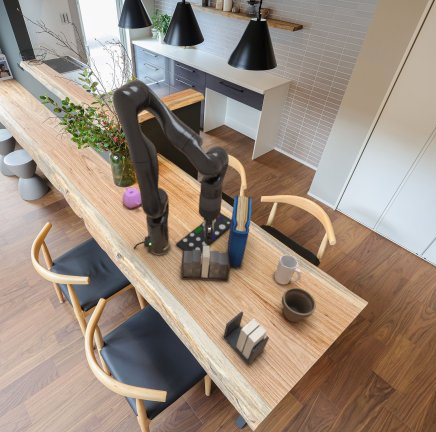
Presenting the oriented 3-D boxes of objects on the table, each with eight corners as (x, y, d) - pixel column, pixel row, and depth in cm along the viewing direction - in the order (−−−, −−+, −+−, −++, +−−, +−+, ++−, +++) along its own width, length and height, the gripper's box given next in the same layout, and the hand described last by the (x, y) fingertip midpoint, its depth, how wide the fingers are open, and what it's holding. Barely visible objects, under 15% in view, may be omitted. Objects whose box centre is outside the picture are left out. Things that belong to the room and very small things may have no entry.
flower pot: (302, 300, 122) (310, 286, 114) (312, 327, 113) (320, 314, 106) (273, 301, 122) (279, 287, 114) (281, 328, 113) (288, 315, 106)
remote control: (234, 224, 152) (235, 221, 151) (193, 258, 137) (194, 255, 136) (217, 213, 158) (217, 210, 157) (176, 245, 143) (176, 242, 141)
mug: (270, 278, 129) (276, 260, 121) (279, 269, 132) (286, 251, 124) (291, 293, 124) (299, 276, 115) (300, 283, 127) (308, 266, 119)
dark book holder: (223, 337, 111) (227, 318, 101) (238, 325, 115) (243, 305, 104) (248, 364, 104) (255, 347, 94) (263, 351, 108) (271, 332, 97)
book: (241, 271, 132) (250, 232, 114) (225, 268, 133) (231, 229, 115) (243, 234, 147) (252, 195, 129) (229, 232, 148) (235, 193, 130)
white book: (201, 277, 129) (202, 257, 119) (201, 265, 133) (203, 245, 123) (207, 277, 129) (209, 257, 119) (207, 266, 133) (209, 245, 123)
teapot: (137, 193, 170) (135, 180, 164) (148, 209, 161) (147, 195, 154) (119, 199, 167) (117, 186, 160) (130, 216, 157) (128, 202, 151)
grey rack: (181, 279, 130) (181, 262, 121) (182, 264, 135) (182, 247, 127) (227, 281, 128) (230, 264, 120) (226, 266, 134) (229, 249, 125)
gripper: (199, 188, 108) (197, 220, 120) (198, 216, 98) (197, 248, 110) (220, 189, 108) (217, 221, 119) (222, 217, 98) (218, 249, 109)
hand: (207, 234), depth 114 cm, fingers open, 8 cm apart
